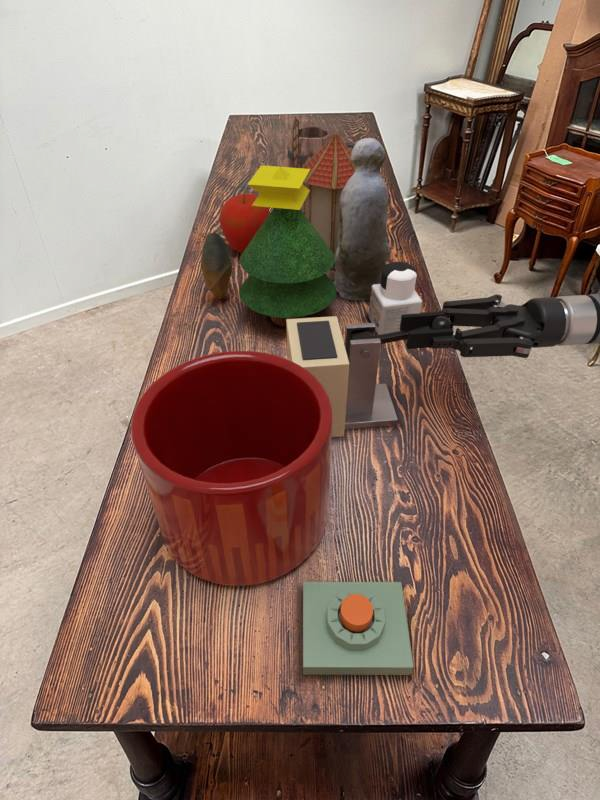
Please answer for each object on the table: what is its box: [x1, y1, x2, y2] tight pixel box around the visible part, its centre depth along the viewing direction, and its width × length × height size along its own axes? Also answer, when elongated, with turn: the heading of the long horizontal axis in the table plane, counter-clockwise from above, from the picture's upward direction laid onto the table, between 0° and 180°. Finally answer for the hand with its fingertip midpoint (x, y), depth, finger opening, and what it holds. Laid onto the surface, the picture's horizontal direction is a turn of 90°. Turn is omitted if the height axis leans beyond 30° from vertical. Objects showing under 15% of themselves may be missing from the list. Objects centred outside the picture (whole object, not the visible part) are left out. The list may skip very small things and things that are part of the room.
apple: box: [218, 192, 271, 254], centre depth 127 cm, size 12×12×14 cm
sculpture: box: [333, 137, 391, 302], centre depth 109 cm, size 11×14×30 cm
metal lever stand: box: [344, 322, 399, 430], centre depth 85 cm, size 12×9×16 cm
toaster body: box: [286, 315, 349, 438], centre depth 85 cm, size 8×12×15 cm, turn 6°
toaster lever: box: [351, 316, 454, 345], centre depth 81 cm, size 15×4×4 cm, turn 96°
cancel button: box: [340, 594, 373, 632], centre depth 60 cm, size 4×4×2 cm
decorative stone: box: [200, 232, 233, 301], centre depth 111 cm, size 10×6×15 cm, turn 173°
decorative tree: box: [239, 165, 337, 328], centre depth 101 cm, size 19×19×30 cm
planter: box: [130, 350, 333, 587], centre depth 69 cm, size 23×23×20 cm
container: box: [368, 261, 423, 335], centre depth 104 cm, size 8×8×13 cm
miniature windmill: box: [292, 117, 355, 271], centre depth 121 cm, size 24×20×30 cm
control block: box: [302, 581, 414, 676], centre depth 62 cm, size 12×10×4 cm
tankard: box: [287, 125, 356, 214], centre depth 142 cm, size 24×17×20 cm
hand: (404, 331), depth 81 cm, fingers closed on toaster lever, 4 cm apart
